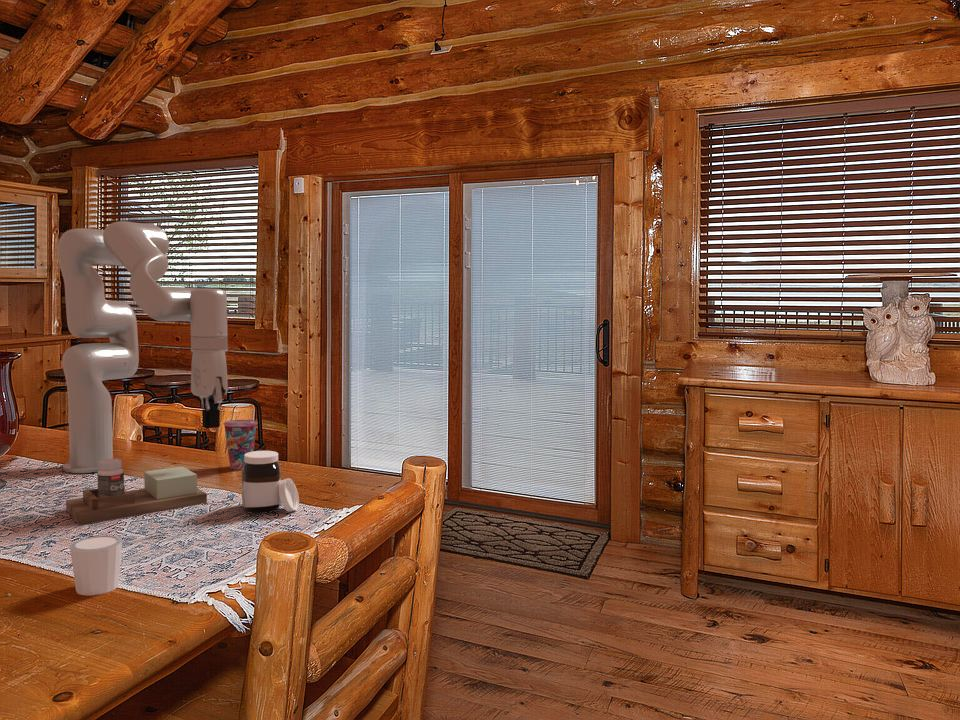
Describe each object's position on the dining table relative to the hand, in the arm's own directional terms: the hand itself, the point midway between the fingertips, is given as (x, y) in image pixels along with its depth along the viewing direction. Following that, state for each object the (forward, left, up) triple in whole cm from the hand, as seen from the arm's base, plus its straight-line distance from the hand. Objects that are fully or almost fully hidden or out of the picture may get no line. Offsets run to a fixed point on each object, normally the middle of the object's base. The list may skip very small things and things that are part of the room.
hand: (211, 427), depth 150 cm
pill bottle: (-1, -20, -13) cm, 24 cm away
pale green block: (0, -9, -13) cm, 16 cm away
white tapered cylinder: (+39, -31, -16) cm, 52 cm away
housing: (0, -15, -15) cm, 21 cm away
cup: (-19, +15, -16) cm, 29 cm away
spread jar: (+18, +6, -16) cm, 24 cm away
